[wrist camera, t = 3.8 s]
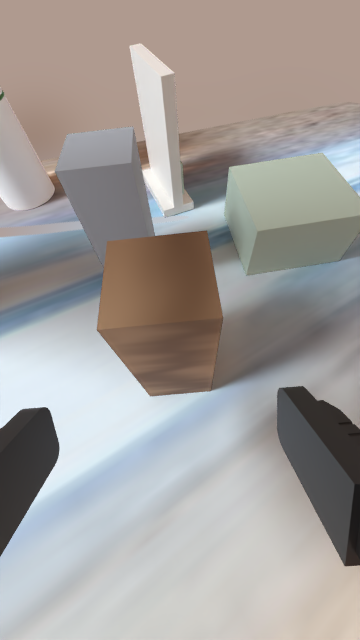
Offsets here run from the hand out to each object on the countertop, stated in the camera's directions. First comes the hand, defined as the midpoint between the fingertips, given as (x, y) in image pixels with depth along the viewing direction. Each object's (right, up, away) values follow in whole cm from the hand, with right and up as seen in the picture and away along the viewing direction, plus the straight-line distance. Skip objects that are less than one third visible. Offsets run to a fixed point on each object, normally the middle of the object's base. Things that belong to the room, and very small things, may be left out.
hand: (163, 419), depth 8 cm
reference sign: (-1, +21, +25) cm, 33 cm away
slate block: (-4, +10, +19) cm, 22 cm away
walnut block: (0, 0, +13) cm, 13 cm away
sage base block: (+12, +13, +20) cm, 26 cm away
